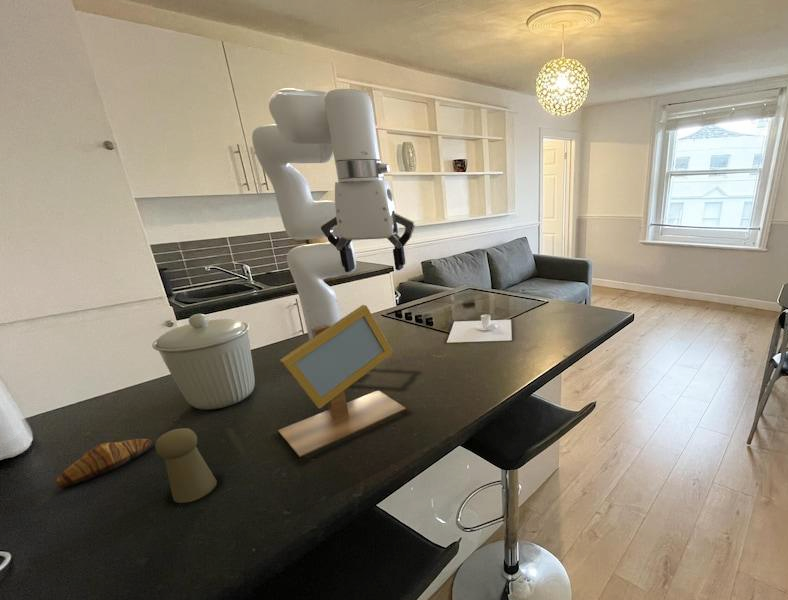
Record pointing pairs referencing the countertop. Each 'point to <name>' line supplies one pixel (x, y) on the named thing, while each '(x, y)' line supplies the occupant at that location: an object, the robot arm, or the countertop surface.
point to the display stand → (338, 418)
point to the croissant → (102, 460)
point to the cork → (185, 465)
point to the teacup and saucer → (481, 330)
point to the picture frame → (338, 356)
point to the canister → (209, 361)
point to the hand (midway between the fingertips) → (374, 269)
